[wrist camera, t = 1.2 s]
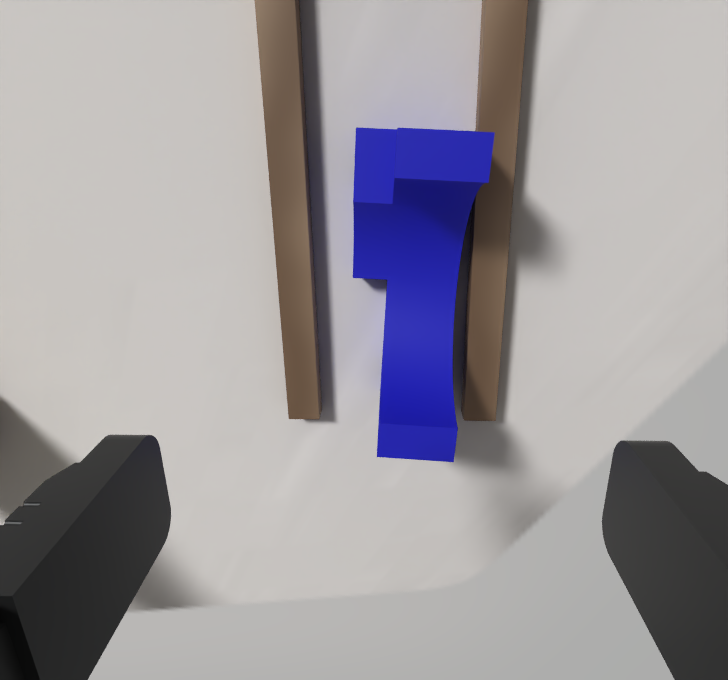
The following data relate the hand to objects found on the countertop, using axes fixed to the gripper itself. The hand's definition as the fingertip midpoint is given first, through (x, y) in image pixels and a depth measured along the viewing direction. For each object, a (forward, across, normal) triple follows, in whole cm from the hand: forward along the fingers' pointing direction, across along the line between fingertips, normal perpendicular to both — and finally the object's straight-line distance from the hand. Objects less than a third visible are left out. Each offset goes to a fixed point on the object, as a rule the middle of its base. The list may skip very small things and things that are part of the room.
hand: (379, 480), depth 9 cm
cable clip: (+16, -1, 0) cm, 16 cm away
